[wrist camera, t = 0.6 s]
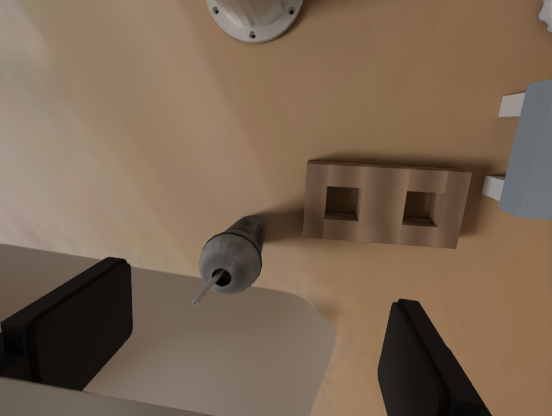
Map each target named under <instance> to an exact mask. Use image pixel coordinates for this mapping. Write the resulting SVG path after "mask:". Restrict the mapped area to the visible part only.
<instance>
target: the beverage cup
mask: <svg viewBox="0 0 552 416" xmlns="http://www.w3.org/2000/svg"><path fill="white" fill-rule="evenodd" d="M264 237H265V227H264V224H263V223H262V221H261V220H260V219H258V218H257V217H254V216H246V217H243V218H242V219H240V220H238V221H237V222H236V223H235V224H233V225H232V226H231V227H230V228H228V229H227V230H226V231H224V232H222V233H220V234H217V235H215V236H213V237H212V238H211V239H210V240H208V241H207V243H206V244H205V246H204V248H203V251H202V253H201V257H200V261H199V268H200V274H201V276H202V279H203V281H204V283H205V284H206V286H205V288H204V289H203V290H202V291H201V292H200V293H199V294H198V296H197V297H196V298H195V299H194V300H193V301H192V304H193V305H194V306H196V305H197V304H198V303H199V302H200V300H201V299H202V298H203V297H204V295H205V294H206V293H207V292H208V291H209V290H210V289H212V290H213V291H215V292H217V293H220V294H223V295H233V294H237V293H240V292H242V291H244V290H246V289H247V288H248V287H250V286H251V285H252V284H253V283H254V282H255V280H256V279H257V278H258V276H259V275H260V272H261V268H262V258H261V252H262V247H263V242H264Z"/></svg>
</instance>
